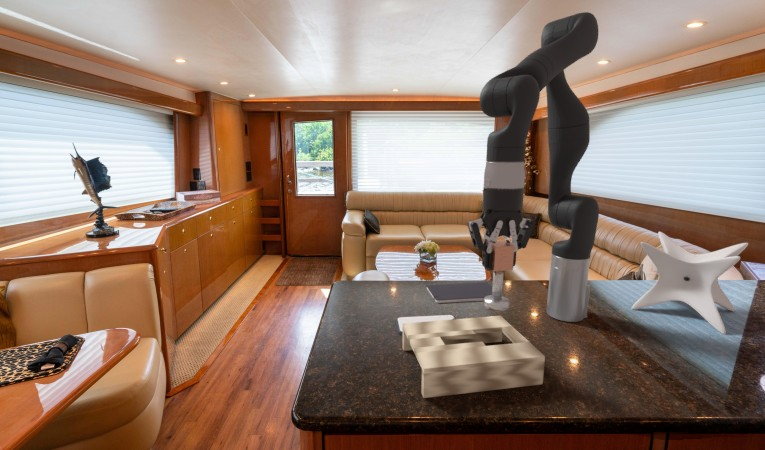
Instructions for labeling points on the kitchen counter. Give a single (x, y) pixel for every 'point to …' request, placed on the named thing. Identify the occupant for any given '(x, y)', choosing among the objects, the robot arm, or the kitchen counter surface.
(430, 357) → the keyhole plate
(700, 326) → the kitchen counter surface
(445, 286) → the notebook
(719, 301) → the white spiked concave cube
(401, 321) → the smartphone
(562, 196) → the robot arm
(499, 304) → the footed peg
